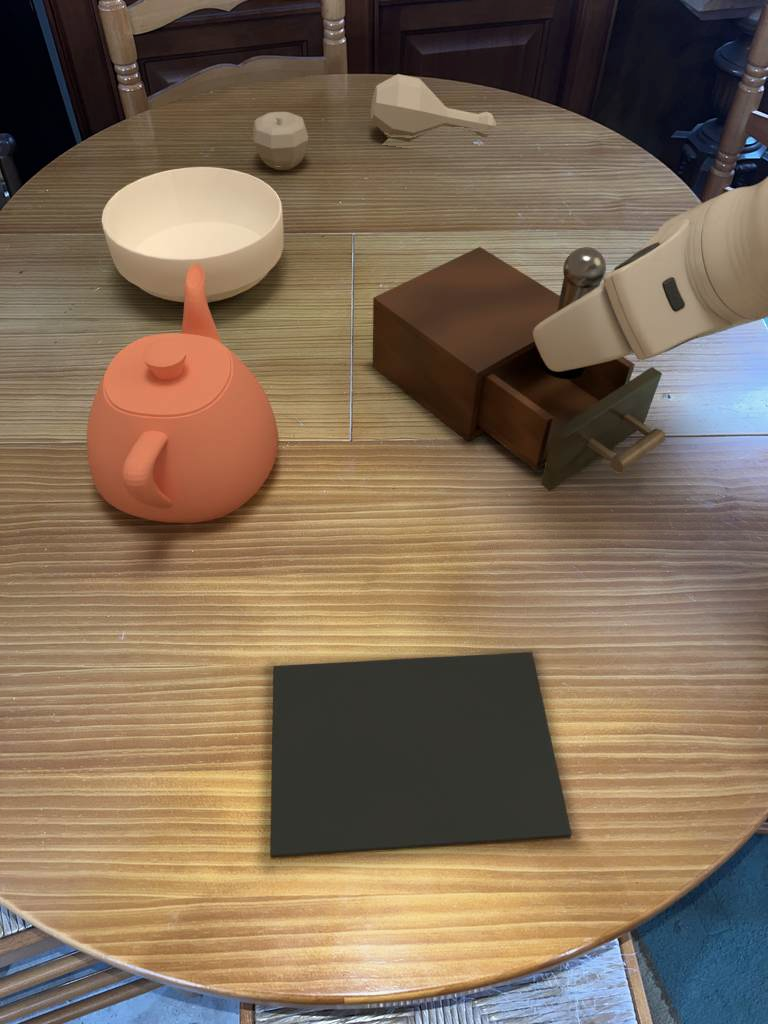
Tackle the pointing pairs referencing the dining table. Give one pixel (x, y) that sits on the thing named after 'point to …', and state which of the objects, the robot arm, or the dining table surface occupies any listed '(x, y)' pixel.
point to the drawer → (568, 414)
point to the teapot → (181, 423)
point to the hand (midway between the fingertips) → (579, 319)
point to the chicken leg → (418, 110)
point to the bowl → (195, 231)
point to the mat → (411, 755)
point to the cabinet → (457, 332)
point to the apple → (280, 139)
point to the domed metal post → (578, 291)
